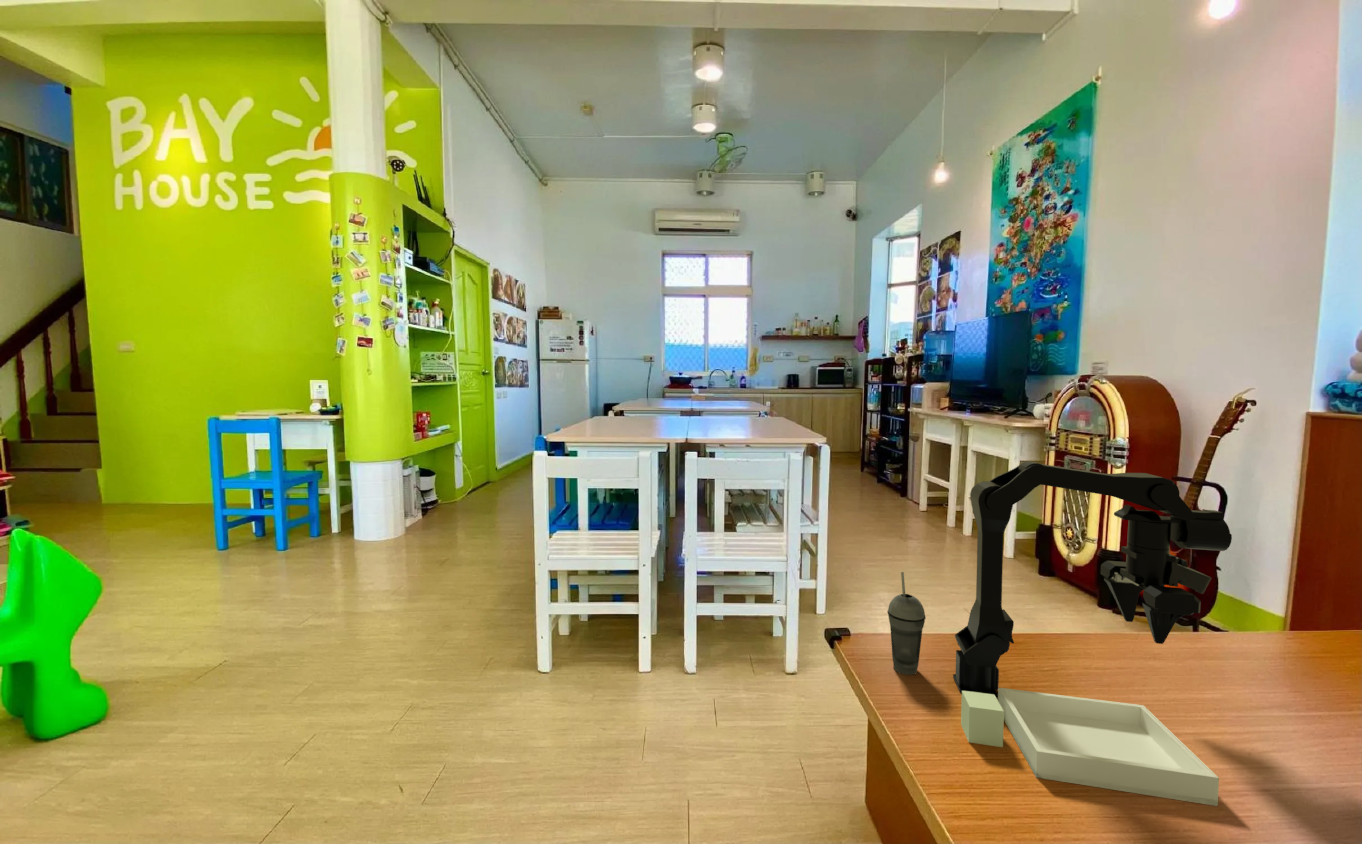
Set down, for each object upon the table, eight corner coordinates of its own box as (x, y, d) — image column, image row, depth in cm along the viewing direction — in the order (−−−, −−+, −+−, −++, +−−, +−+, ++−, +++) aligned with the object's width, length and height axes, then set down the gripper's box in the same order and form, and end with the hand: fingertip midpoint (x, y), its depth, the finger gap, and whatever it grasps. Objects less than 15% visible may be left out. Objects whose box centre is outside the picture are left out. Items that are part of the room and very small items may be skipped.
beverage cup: (907, 682, 106) (909, 582, 105) (878, 665, 113) (880, 571, 112) (932, 673, 110) (934, 576, 109) (902, 657, 116) (904, 566, 115)
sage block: (968, 742, 88) (969, 706, 88) (960, 724, 93) (961, 690, 92) (1002, 747, 87) (1004, 711, 86) (993, 729, 91) (994, 694, 91)
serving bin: (1036, 777, 80) (1037, 751, 79) (997, 709, 97) (998, 687, 97) (1217, 806, 74) (1219, 778, 74) (1142, 728, 91) (1143, 705, 91)
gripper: (1244, 565, 84) (1237, 663, 85) (1169, 535, 102) (1164, 616, 103) (1159, 559, 87) (1154, 653, 88) (1101, 531, 105) (1097, 610, 106)
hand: (1143, 631), depth 96 cm, fingers open, 9 cm apart
